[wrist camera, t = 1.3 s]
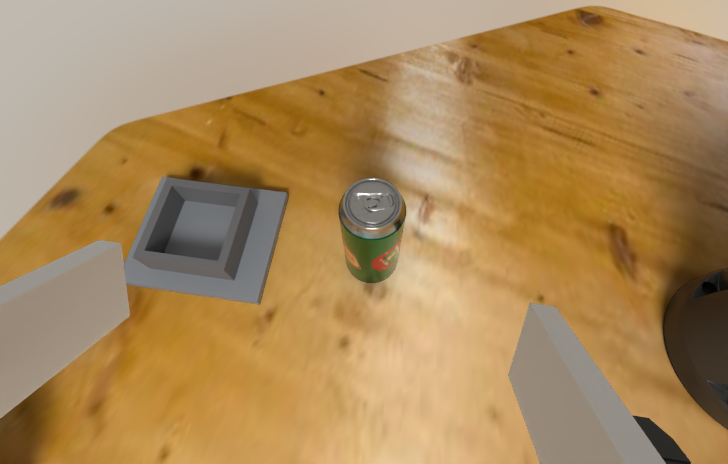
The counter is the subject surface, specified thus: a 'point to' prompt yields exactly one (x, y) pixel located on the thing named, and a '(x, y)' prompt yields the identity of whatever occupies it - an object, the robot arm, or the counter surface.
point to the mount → (207, 240)
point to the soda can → (372, 228)
